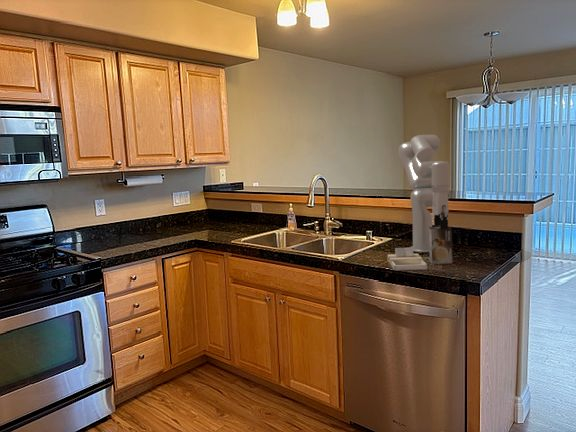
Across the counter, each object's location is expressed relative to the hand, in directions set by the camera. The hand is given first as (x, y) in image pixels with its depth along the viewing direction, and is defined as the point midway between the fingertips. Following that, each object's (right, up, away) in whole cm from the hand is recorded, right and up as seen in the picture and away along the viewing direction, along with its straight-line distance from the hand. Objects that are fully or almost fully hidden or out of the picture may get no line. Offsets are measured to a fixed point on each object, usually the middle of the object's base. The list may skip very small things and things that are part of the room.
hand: (440, 227), depth 200 cm
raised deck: (-15, -17, +5) cm, 23 cm away
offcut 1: (-17, -14, +6) cm, 23 cm away
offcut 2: (-13, -13, +5) cm, 20 cm away
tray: (-16, -18, -4) cm, 24 cm away
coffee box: (+1, -16, +3) cm, 17 cm away
